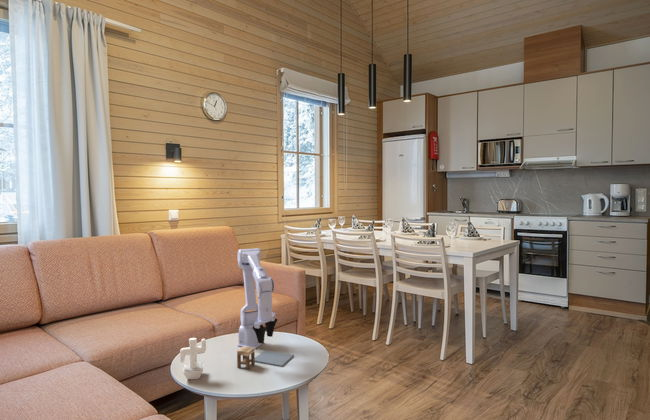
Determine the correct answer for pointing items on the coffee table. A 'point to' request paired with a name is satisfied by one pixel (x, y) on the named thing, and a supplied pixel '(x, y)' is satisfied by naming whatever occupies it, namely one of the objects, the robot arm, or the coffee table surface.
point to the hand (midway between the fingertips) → (265, 339)
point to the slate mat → (273, 358)
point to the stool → (245, 356)
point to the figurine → (193, 359)
